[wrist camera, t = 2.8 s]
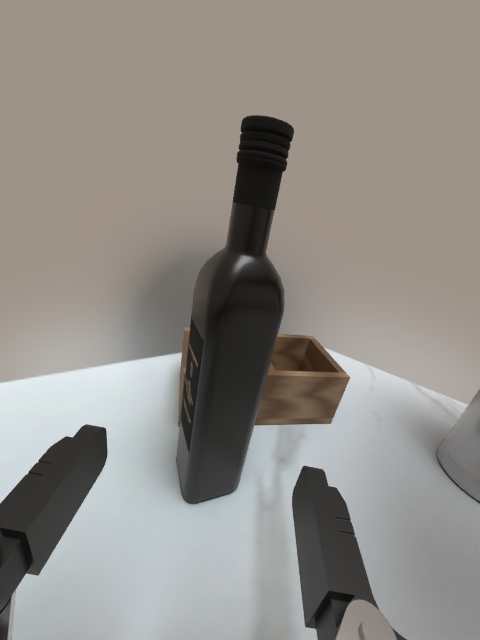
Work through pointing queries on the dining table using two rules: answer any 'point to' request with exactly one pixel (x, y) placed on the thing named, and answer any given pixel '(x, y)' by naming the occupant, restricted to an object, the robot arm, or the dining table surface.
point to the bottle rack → (293, 382)
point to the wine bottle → (234, 323)
